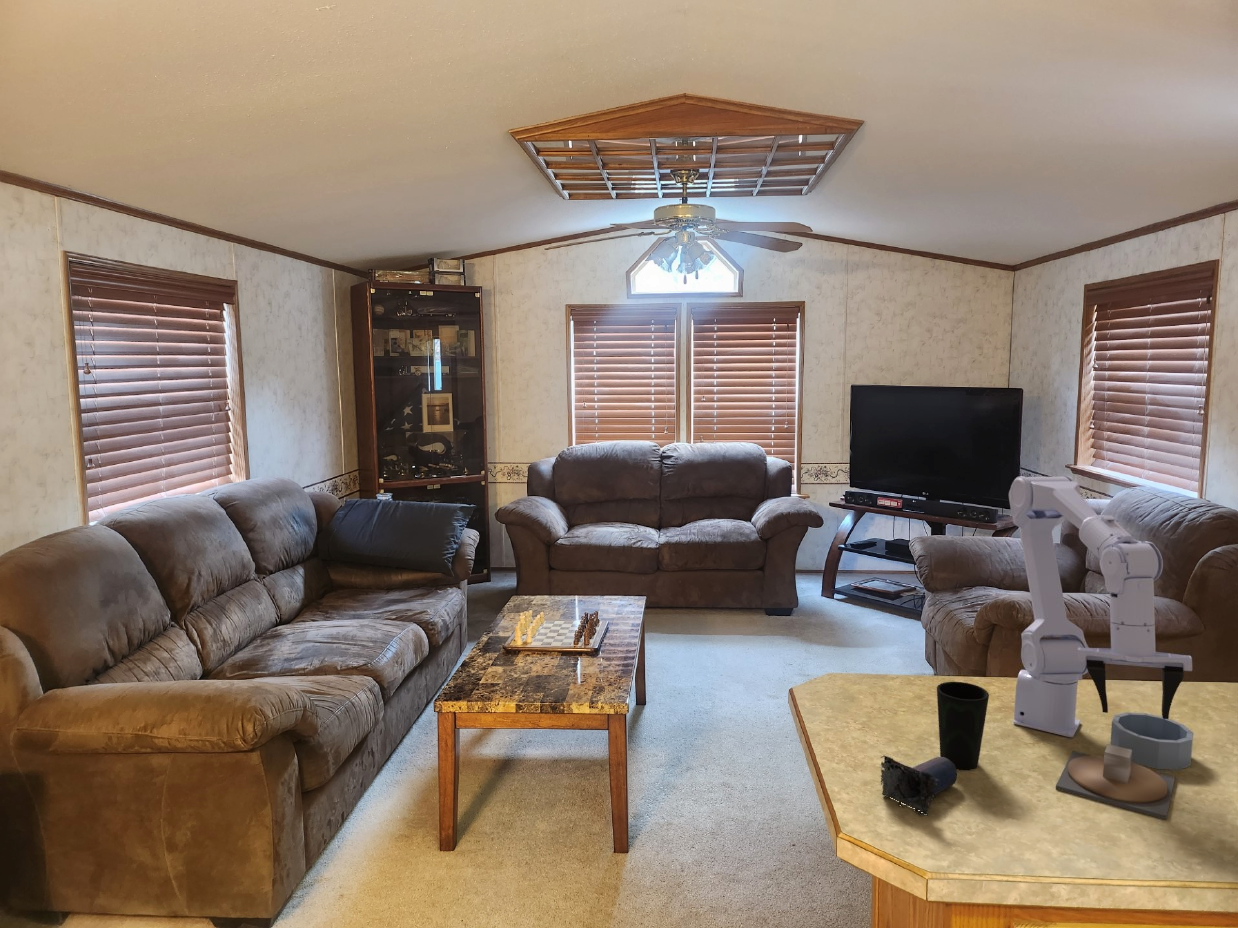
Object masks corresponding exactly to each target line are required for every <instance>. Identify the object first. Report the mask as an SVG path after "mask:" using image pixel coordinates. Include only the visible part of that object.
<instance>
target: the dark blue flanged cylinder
mask: <svg viewBox="0 0 1238 928" xmlns="http://www.w3.org/2000/svg"><path fill="white" fill-rule="evenodd" d="M882 758H884V760H883V761H881V763H880V765H881V769H880V772H881V775H880V779H881V780H880V785H882V791H881V792H882V793H881V794H882V796H885V797H886V796H887V798H888V797H891V798H893V799H895V800H897V801H899V803H897V806H898V805H901V806H902V807H901V806H900V807H901V808H904V805H903V804H901V802H902V803H904V804H906V805H908V806H910V807H912V808H915V809H913V811H914V810H915V811H914V812H915V814H919V816H921V817H927V816H929V811H930V810H929V809H930V805H931V804H932V800H934V799H936V796H937V794H938V793H939V792H942V791H944V790H946V789H948V788H950V787H952V786H954V785H955V783H956V782H957V780H958V770H957V769H956V767H955V765H954V764H953V763H952V762H951V761H950V760H948V759H947V758H944V757H940V756H936V757H934V758H931V759H929V760H927V761H924V762H922V763H920V764H917V765H915V766H913V767H912V766H909V765H905V764H902V763H901V762H899V761H897V760H895V759H894V758H891V757H889V756H888V755H883V756H880V759H882ZM891 798H890V799H891ZM895 800H894V801H895ZM918 810H920V811H918ZM921 812H923V813H921ZM924 814H927V815H924Z"/></svg>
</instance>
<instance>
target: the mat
mask: <svg viewBox="0 0 1238 928" xmlns="http://www.w3.org/2000/svg"><path fill="white" fill-rule="evenodd" d="M1081 756H1093V755H1092V754H1088V753H1084V752H1079V751H1076V750H1072V752H1071V754H1070V755H1069V757H1068V760H1067V762H1066V764H1065V765H1064V768H1063V770H1062V772H1061V774H1060V776H1059V778H1058V780H1057V782H1056V784H1055V790H1058V791H1061V792H1065V793H1068V794H1071V795H1076V796H1078V797H1079V796H1080V797H1083V798H1086V799H1090V800H1093V801H1098V802H1100V803H1104V804H1108V805H1112V806H1115V807H1119V808H1122V809H1125V810H1128V811H1129V810H1130V811H1132V812H1137V813H1140V814H1144V815H1147V816H1151V817H1154V818H1157V819H1162V820H1164V821H1166V820H1167V817H1168V813H1169V809H1170V804H1171V798H1172V795H1173V789H1174V785H1175V780H1176V776H1175V775H1171V774H1167V773H1163V772H1161V771H1155V770H1152V769H1150V770H1151V771H1153V772H1155V773H1156V774H1158V775H1159V776H1160V777H1161V778H1163V780H1164V781H1165V782H1166V784H1167V795H1166V797H1165V798H1164V799H1162V800H1161V801H1158V802H1154V803H1129V802H1122V801H1117V800H1113V799H1109V798H1106V797H1103V796H1100V795H1097V794H1095V793H1092V792H1090V791H1088V790H1086V789H1084V788H1082V787H1081V786H1079V785H1078V784H1076V783H1075V782H1074V781H1073V780H1072V779H1071V778H1070V776H1069V774H1068V764H1069V762H1070V761H1071V760H1073V759H1075V758H1077V757H1081Z"/></svg>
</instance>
